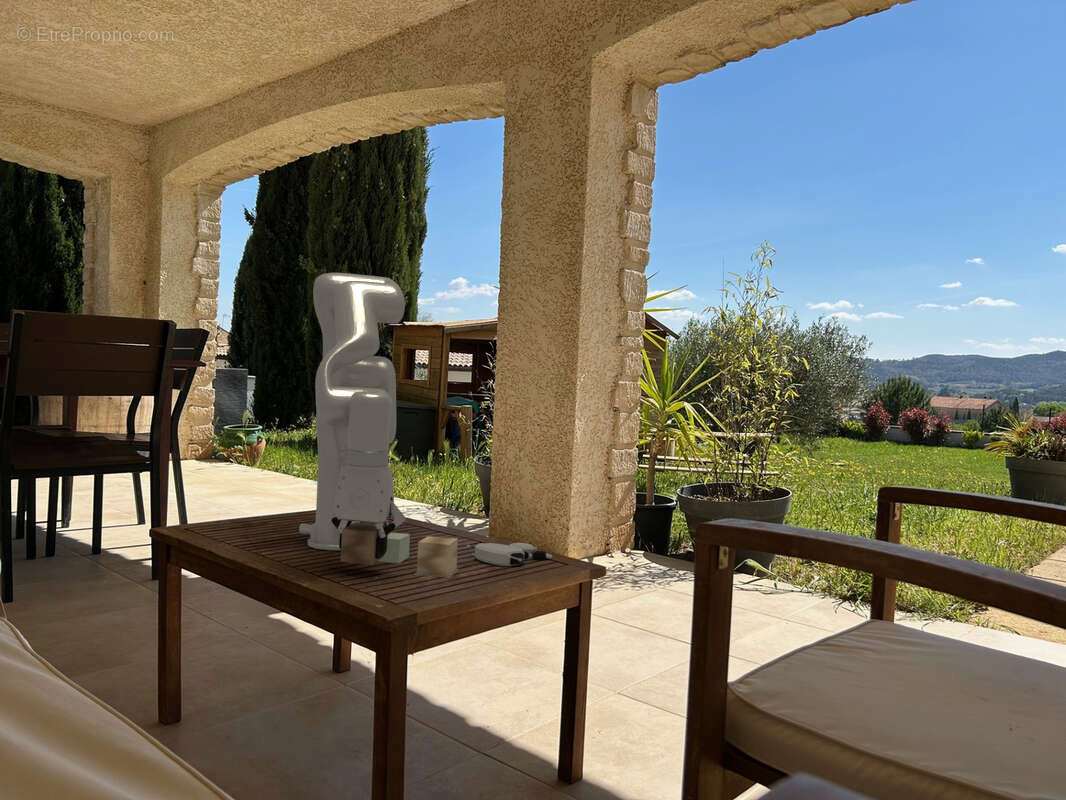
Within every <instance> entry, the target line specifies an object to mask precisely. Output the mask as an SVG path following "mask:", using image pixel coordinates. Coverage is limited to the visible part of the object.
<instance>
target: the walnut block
mask: <svg viewBox="0 0 1066 800" xmlns="http://www.w3.org/2000/svg"><path fill="white" fill-rule="evenodd" d="M377 537H378V531H377V528H376V524H375V523H366V522H360V523H356V522H355V523H353V524H351V525H349V526H347V527H345V528H344V529H342V544H341V550H340V563H342V562H343V563H351V564H356V565H357V564H359V565H368V566H372V565H374V564H376V563H377V562H378V561H379V560H380V559H382V558H383V557H384V556H383V557H381V558H380V559H376V558H375V552H376V538H377Z"/></svg>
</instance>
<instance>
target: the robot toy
mask: <svg viewBox="0 0 1066 800" xmlns="http://www.w3.org/2000/svg"><path fill="white" fill-rule="evenodd" d="M466 547H468V548H473V549H474V557H475V558H476V560H478V561H480V562H483V563H487V564H491V565H496V566H501V567H514V566H519V565H523V564H524V563H525V561H527V560H535V561H546V559H553V555H552V554H550V553H547V552H546V551H545V550H538V547H536V546H533V544H530V543H526V542H514V543H512V542H511V543H510V544H509V545H507V544H502V543H495V542H488V543H487V542H486V543H485V542H484V543H482V542H481V543H477V545H475V546H473V545H470V544H466Z"/></svg>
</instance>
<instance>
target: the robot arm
mask: <svg viewBox="0 0 1066 800" xmlns="http://www.w3.org/2000/svg"><path fill="white" fill-rule="evenodd" d="M312 291H313V304H314V305H313V306H314V310H315V314H316V317H317V320H318V324H319V326H320V329H321V333H322V334H321V335H322V359H321V361H320V364H319V366H318V367H317V370H316V375H315V385H314V388H315V389H314V390H315V407H316V414H315V431H316V440H317V480H316V482H317V483H316V486H317V487H316V501H315V502H316V504H315V505H316V508H315V509H316V510H315V523H312V524H309V523H300V525H299V528H298V530H299V533H300V534H305V535H306V534H307V535H309V536H310V538H308V539H307V546H308V547H310V548H313V549H316V550H322V551H323V550H325V551H341V544H342V529H344V528H345V527H347V526H349V525H351V524H353V523H355V522H356V523H365V524H375V525H376V528H377V531H378V537H377V538H376V552H375V558H376V559H380V558H381V557H383V556H384V554H385V553H386V551H387V537H388V535H389V534H390V533H393V531H394V530H395V529H397V527H399V526H400V525H402V523H404V522H405V521H406V516H405V515H404V513H402V511H401V510H400V509H399V508H398V506H397V504H395V491H394V489H395V488H394V479H393V478H394V477H393V472H392V471H393V470H392V466H389V454H390V453H389V451H390V444H392V443H393V441H394V440H395V438H396V433H397V379H396V376H397V375H396V371H395V367H394V364H393V362H392V360H390V359H389V358H387V357H384V356H379V355H376V354H377V353H378V351H379V349H380V337H379V336H380V335H379V327H378V326H379V325H378V323H379V324H380V323H381V324H382V323H383V324H398V323H400V322H401V320H402V318H403V317H404V314H405V309H406V308H405V306H406V305H405V303H406V302H405V297H404V296H405V295H404V293H403V290H402V289H401V287H400V285H399V284H398V283H397V282H395V281H394V280H392V279H391V278H390V277H385V276H384V277H383V276H379V275H378V276H376V275H365V274H357V273H346V272H344V273H343V272H328V273H327V272H326V273H323V274H320V275H318V276H317V277H316V278H315V281H314V283H313V289H312ZM392 517H393V518H394V520H393V521H391V522H390V523H389V522H388V519H389V520H390V519H391V518H392Z"/></svg>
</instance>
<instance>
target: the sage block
mask: <svg viewBox="0 0 1066 800" xmlns="http://www.w3.org/2000/svg"><path fill="white" fill-rule="evenodd" d="M410 535H411V534H409V533H401V532H391V533H390V534H389V535H388V537H387V551H386V553H385V554H384V557H383V558H382V559H380V560H379V561H377V562H380V563H391V564H400V563H402V562H404V561H405V560H407V559H408V558H409V557H410V540H411V536H410Z"/></svg>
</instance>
